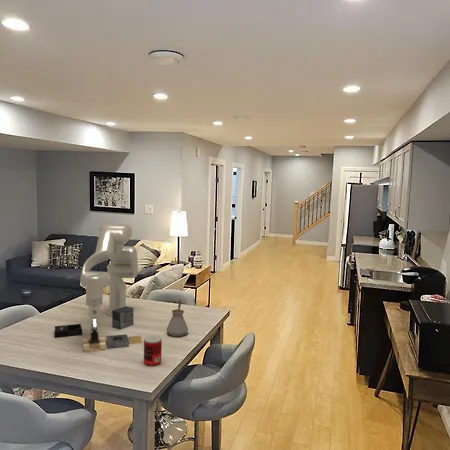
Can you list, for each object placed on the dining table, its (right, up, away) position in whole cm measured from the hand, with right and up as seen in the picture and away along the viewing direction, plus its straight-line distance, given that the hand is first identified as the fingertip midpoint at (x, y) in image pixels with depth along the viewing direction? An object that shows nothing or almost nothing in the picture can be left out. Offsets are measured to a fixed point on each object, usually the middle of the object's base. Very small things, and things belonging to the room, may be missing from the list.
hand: (94, 337), depth 197 cm
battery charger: (-19, -4, +17) cm, 26 cm away
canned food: (+30, -8, -14) cm, 34 cm away
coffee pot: (+37, -4, +26) cm, 46 cm away
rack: (0, -5, 0) cm, 5 cm away
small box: (+6, -3, +30) cm, 31 cm away
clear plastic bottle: (0, -5, +1) cm, 5 cm away
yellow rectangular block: (+18, -5, +8) cm, 20 cm away
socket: (+10, -5, +5) cm, 12 cm away
